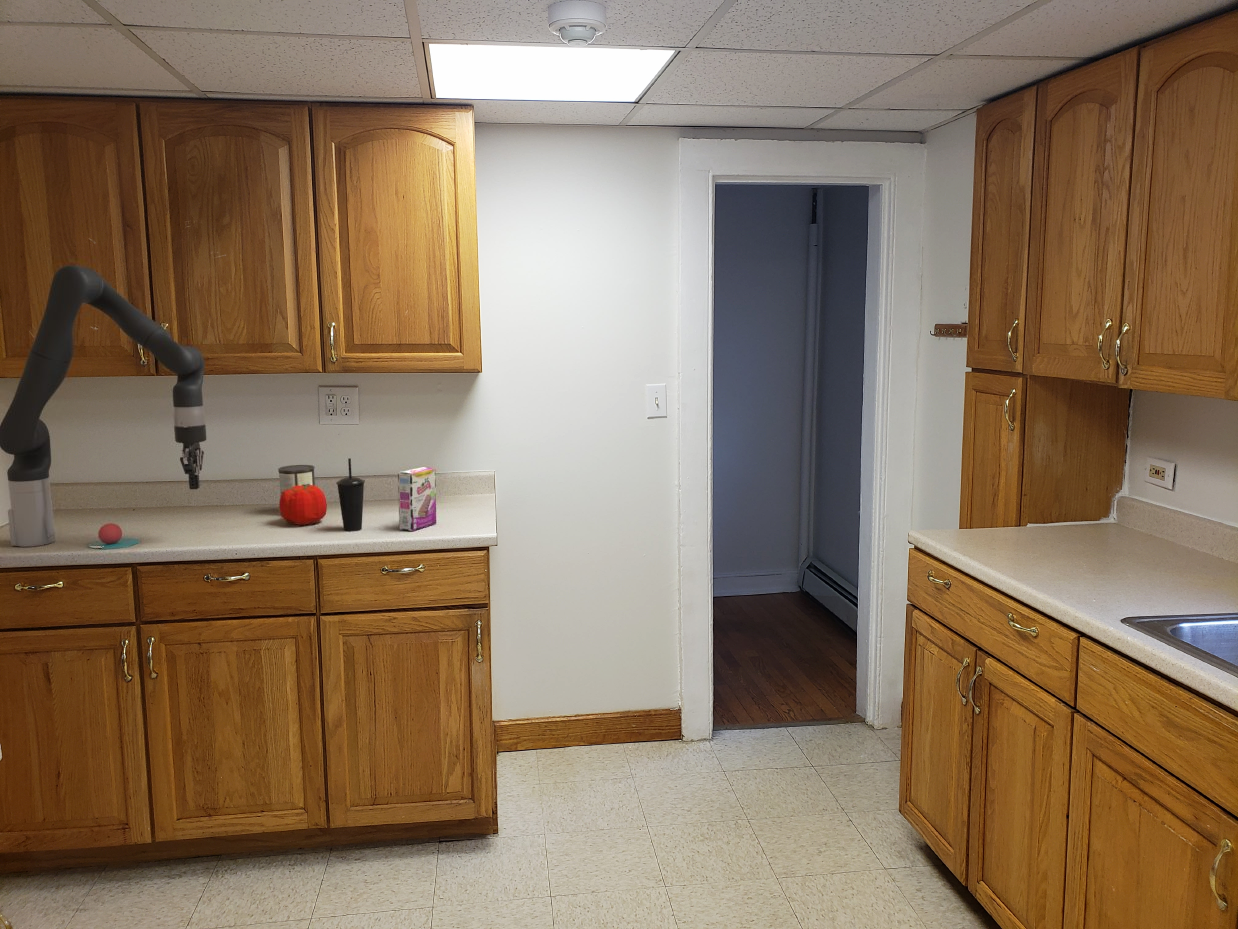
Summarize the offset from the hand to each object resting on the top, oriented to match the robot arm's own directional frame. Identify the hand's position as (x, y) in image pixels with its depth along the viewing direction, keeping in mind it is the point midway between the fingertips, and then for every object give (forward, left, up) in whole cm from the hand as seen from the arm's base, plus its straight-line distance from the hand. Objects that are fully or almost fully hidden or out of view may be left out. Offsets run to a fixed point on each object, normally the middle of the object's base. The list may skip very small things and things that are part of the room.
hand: (194, 488), depth 250 cm
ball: (-22, 0, -11) cm, 24 cm away
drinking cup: (+39, +7, -14) cm, 42 cm away
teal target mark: (-21, 0, -14) cm, 25 cm away
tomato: (+24, +18, -14) cm, 33 cm away
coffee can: (+20, +32, -14) cm, 40 cm away
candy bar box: (+57, +7, -14) cm, 59 cm away
